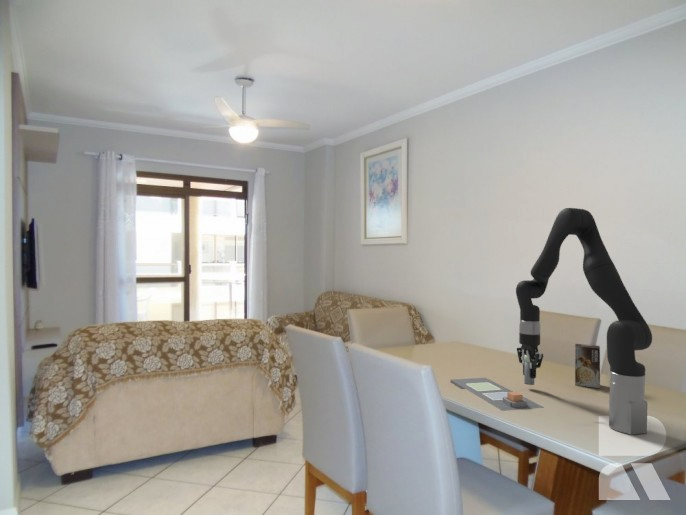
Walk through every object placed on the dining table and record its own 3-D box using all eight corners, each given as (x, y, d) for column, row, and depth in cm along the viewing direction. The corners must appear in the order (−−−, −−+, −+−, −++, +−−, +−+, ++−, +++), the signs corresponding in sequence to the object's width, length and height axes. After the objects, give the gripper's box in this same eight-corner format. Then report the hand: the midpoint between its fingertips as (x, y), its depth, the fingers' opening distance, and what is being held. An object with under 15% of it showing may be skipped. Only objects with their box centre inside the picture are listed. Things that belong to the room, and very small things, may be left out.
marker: (536, 384, 180) (537, 355, 180) (528, 385, 180) (528, 356, 179) (530, 382, 184) (530, 353, 184) (522, 382, 183) (522, 354, 183)
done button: (522, 401, 162) (522, 394, 162) (513, 402, 162) (513, 395, 162) (516, 398, 166) (516, 391, 166) (507, 399, 165) (507, 392, 165)
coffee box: (599, 384, 192) (600, 345, 192) (600, 388, 187) (600, 348, 187) (574, 381, 197) (575, 343, 196) (574, 385, 191) (574, 345, 191)
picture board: (544, 410, 161) (544, 402, 161) (502, 413, 157) (502, 405, 157) (485, 380, 198) (485, 373, 198) (450, 382, 194) (450, 375, 194)
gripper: (550, 334, 176) (549, 381, 176) (527, 329, 189) (526, 371, 190) (532, 335, 174) (532, 382, 174) (510, 329, 188) (510, 372, 188)
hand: (529, 376), depth 182 cm, fingers closed on marker, 3 cm apart
